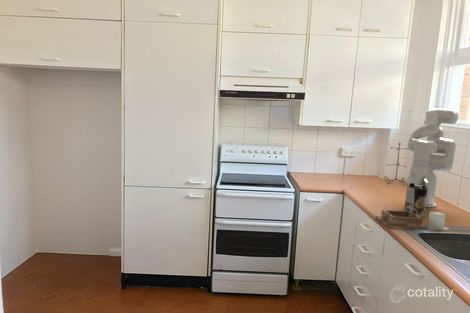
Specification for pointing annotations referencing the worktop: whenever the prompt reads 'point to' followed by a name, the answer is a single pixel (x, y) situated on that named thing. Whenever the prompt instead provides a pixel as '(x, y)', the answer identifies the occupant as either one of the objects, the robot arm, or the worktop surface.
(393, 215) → the tray
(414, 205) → the coffee box
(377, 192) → the worktop surface
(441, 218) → the white rounded cylinder
